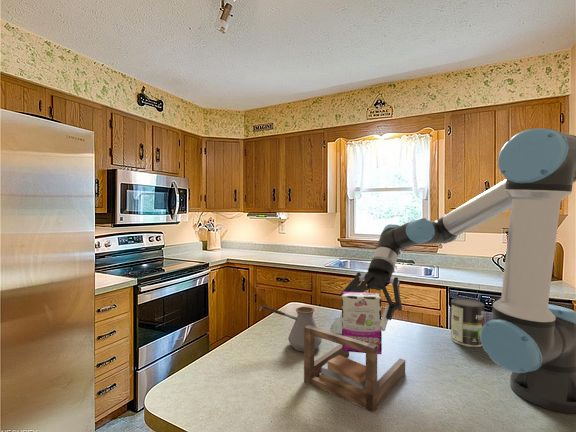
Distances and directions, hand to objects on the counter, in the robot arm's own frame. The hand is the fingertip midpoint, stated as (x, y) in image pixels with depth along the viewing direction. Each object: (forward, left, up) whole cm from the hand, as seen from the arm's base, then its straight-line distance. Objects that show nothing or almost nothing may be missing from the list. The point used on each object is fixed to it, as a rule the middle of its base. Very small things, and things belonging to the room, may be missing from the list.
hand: (361, 323), depth 91 cm
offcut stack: (-1, +10, -14) cm, 17 cm away
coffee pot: (+25, +2, -14) cm, 29 cm away
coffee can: (-20, -43, -14) cm, 50 cm away
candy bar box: (0, 0, -8) cm, 8 cm away
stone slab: (+21, -27, -15) cm, 37 cm away
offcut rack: (-1, +5, -14) cm, 15 cm away
